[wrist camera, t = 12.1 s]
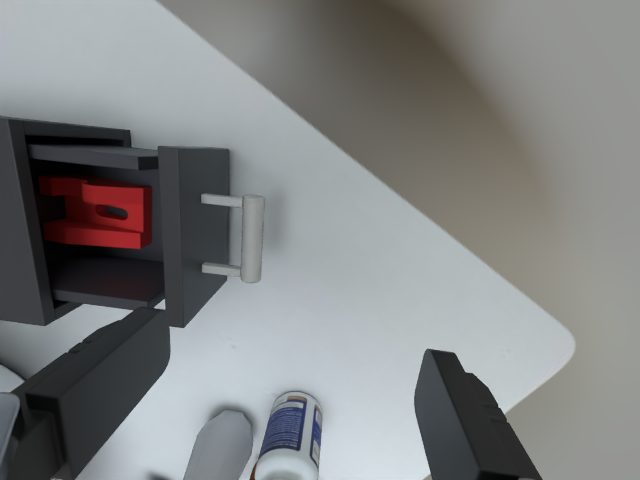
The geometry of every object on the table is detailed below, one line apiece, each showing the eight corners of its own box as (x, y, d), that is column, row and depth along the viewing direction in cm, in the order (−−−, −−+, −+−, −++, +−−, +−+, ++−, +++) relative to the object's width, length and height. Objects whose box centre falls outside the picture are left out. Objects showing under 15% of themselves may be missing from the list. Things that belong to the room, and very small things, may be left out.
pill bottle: (263, 414, 33) (231, 519, 23) (289, 381, 31) (266, 479, 22) (305, 438, 33) (290, 551, 24) (332, 406, 32) (328, 513, 22)
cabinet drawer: (281, 154, 24) (253, 156, 16) (273, 286, 27) (246, 337, 20) (66, 131, 25) (-54, 122, 17) (83, 261, 28) (-11, 302, 20)
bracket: (78, 230, 26) (45, 239, 23) (74, 173, 24) (38, 175, 22) (151, 243, 26) (127, 255, 23) (151, 186, 24) (125, 191, 21)
